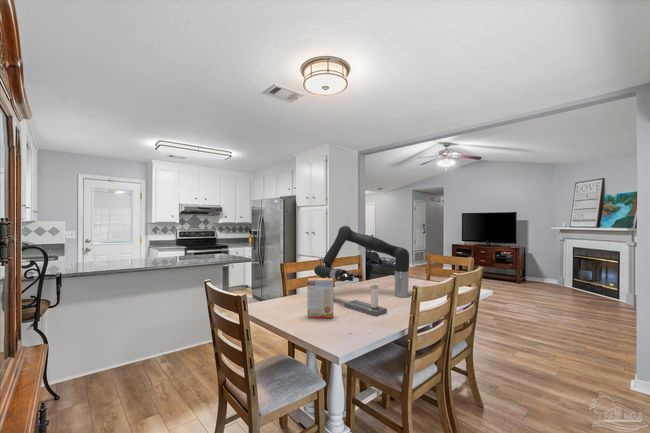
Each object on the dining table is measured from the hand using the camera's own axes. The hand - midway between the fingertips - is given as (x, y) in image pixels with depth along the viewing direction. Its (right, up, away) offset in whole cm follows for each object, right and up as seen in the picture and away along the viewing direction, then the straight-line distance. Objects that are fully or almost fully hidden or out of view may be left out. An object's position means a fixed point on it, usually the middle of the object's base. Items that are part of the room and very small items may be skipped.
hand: (357, 278), depth 191 cm
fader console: (+4, -18, -5) cm, 19 cm away
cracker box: (-22, -18, -17) cm, 33 cm away
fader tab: (+9, -15, -10) cm, 20 cm away
